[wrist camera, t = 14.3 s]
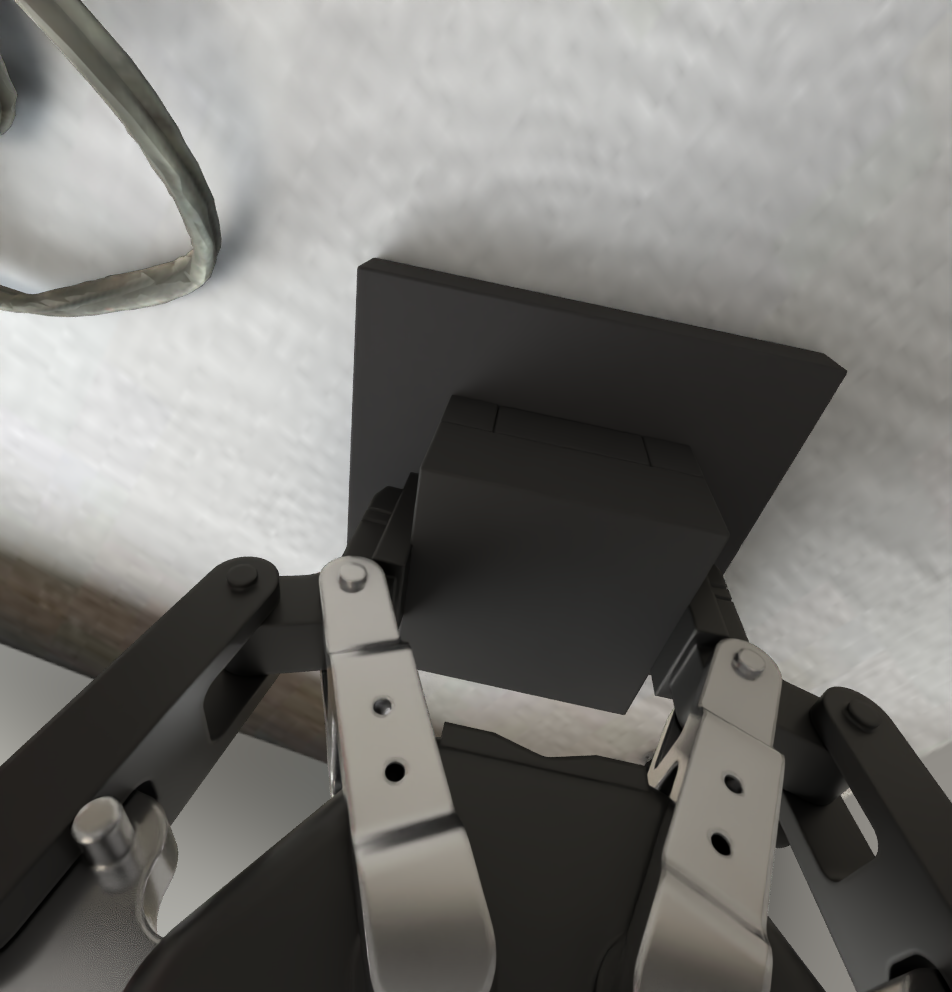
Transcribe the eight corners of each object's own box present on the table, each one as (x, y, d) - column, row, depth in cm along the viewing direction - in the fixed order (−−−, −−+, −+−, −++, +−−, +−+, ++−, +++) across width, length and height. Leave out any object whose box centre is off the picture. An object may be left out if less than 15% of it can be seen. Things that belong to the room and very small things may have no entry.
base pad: (826, 353, 12) (884, 396, 10) (655, 649, 18) (668, 715, 16) (372, 256, 12) (333, 278, 10) (355, 584, 18) (328, 640, 16)
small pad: (690, 445, 13) (732, 535, 10) (612, 611, 16) (625, 716, 13) (451, 393, 13) (419, 467, 10) (423, 570, 16) (394, 665, 13)
